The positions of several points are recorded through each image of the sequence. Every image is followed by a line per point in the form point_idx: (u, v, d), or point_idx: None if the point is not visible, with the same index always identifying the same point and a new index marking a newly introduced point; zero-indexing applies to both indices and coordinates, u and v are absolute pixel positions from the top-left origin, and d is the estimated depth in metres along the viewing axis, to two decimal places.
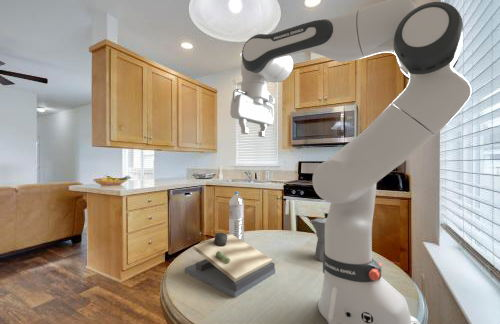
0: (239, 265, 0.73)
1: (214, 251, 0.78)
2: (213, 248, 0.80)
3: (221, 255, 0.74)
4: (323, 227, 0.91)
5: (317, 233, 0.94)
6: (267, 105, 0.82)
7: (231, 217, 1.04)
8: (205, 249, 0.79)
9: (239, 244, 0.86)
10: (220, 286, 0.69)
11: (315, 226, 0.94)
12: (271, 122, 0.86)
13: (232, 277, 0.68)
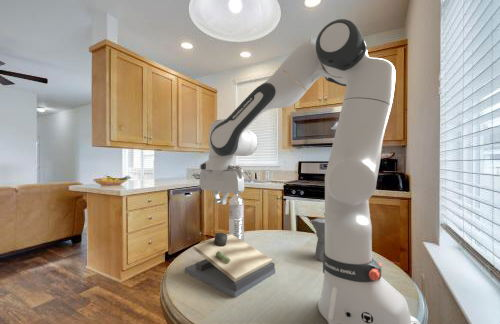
0: (239, 265, 0.73)
1: (214, 251, 0.78)
2: (213, 248, 0.80)
3: (221, 255, 0.74)
4: (323, 227, 0.91)
5: (317, 233, 0.94)
6: None
7: (231, 217, 1.04)
8: (205, 249, 0.79)
9: (239, 244, 0.86)
10: (220, 286, 0.69)
11: (315, 226, 0.94)
12: None
13: (232, 277, 0.68)
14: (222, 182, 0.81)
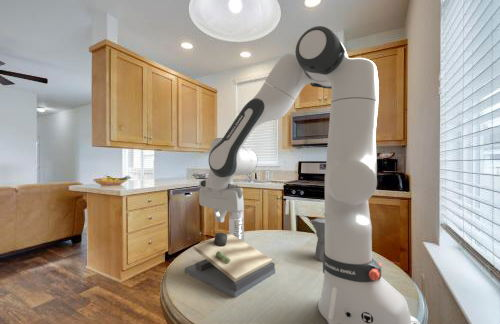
0: (239, 265, 0.73)
1: (214, 251, 0.78)
2: (213, 248, 0.80)
3: (221, 255, 0.74)
4: (323, 227, 0.91)
5: (317, 233, 0.94)
6: None
7: (231, 217, 1.04)
8: (205, 249, 0.79)
9: (239, 244, 0.86)
10: (220, 286, 0.69)
11: (315, 226, 0.94)
12: None
13: (232, 277, 0.68)
14: (221, 200, 0.81)
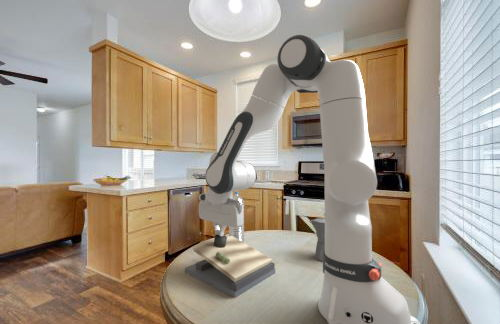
0: (239, 265, 0.73)
1: (214, 252, 0.78)
2: (213, 249, 0.80)
3: (221, 256, 0.74)
4: (323, 227, 0.91)
5: (317, 233, 0.94)
6: None
7: None
8: (205, 250, 0.79)
9: (239, 245, 0.86)
10: (220, 286, 0.69)
11: (315, 226, 0.94)
12: None
13: (232, 277, 0.68)
14: (221, 215, 0.81)
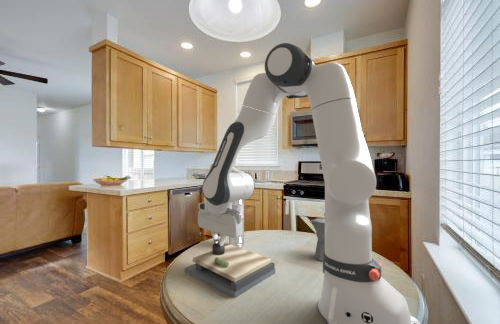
0: (238, 267, 0.74)
1: (213, 259, 0.79)
2: (212, 257, 0.81)
3: (219, 260, 0.75)
4: (323, 227, 0.91)
5: (317, 233, 0.94)
6: None
7: None
8: (204, 259, 0.79)
9: (238, 251, 0.87)
10: (220, 286, 0.69)
11: (315, 226, 0.94)
12: None
13: (232, 278, 0.68)
14: (220, 225, 0.82)
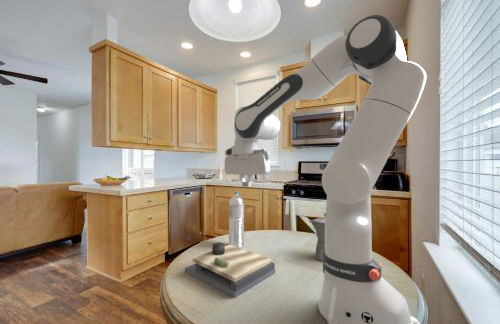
0: (238, 267, 0.74)
1: (213, 259, 0.79)
2: (212, 257, 0.81)
3: (219, 260, 0.75)
4: (323, 227, 0.91)
5: (317, 233, 0.94)
6: None
7: (231, 217, 1.04)
8: (204, 259, 0.79)
9: (238, 251, 0.87)
10: (220, 286, 0.69)
11: (315, 226, 0.94)
12: None
13: (232, 278, 0.68)
14: (248, 165, 0.86)
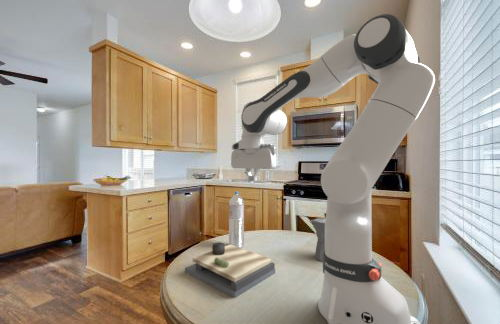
0: (238, 267, 0.74)
1: (213, 259, 0.79)
2: (212, 257, 0.81)
3: (219, 260, 0.75)
4: (323, 227, 0.91)
5: (317, 233, 0.94)
6: None
7: (231, 217, 1.04)
8: (204, 259, 0.79)
9: (238, 251, 0.87)
10: (220, 286, 0.69)
11: (315, 226, 0.94)
12: None
13: (232, 278, 0.68)
14: (255, 160, 0.87)
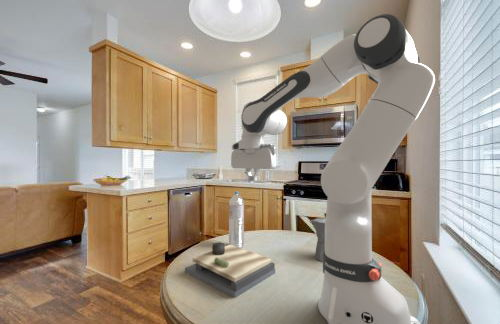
0: (238, 267, 0.74)
1: (213, 259, 0.79)
2: (212, 257, 0.81)
3: (219, 260, 0.75)
4: (323, 227, 0.91)
5: (317, 233, 0.94)
6: None
7: (231, 217, 1.04)
8: (204, 259, 0.79)
9: (238, 251, 0.87)
10: (220, 286, 0.69)
11: (315, 226, 0.94)
12: None
13: (232, 278, 0.68)
14: (255, 160, 0.87)
